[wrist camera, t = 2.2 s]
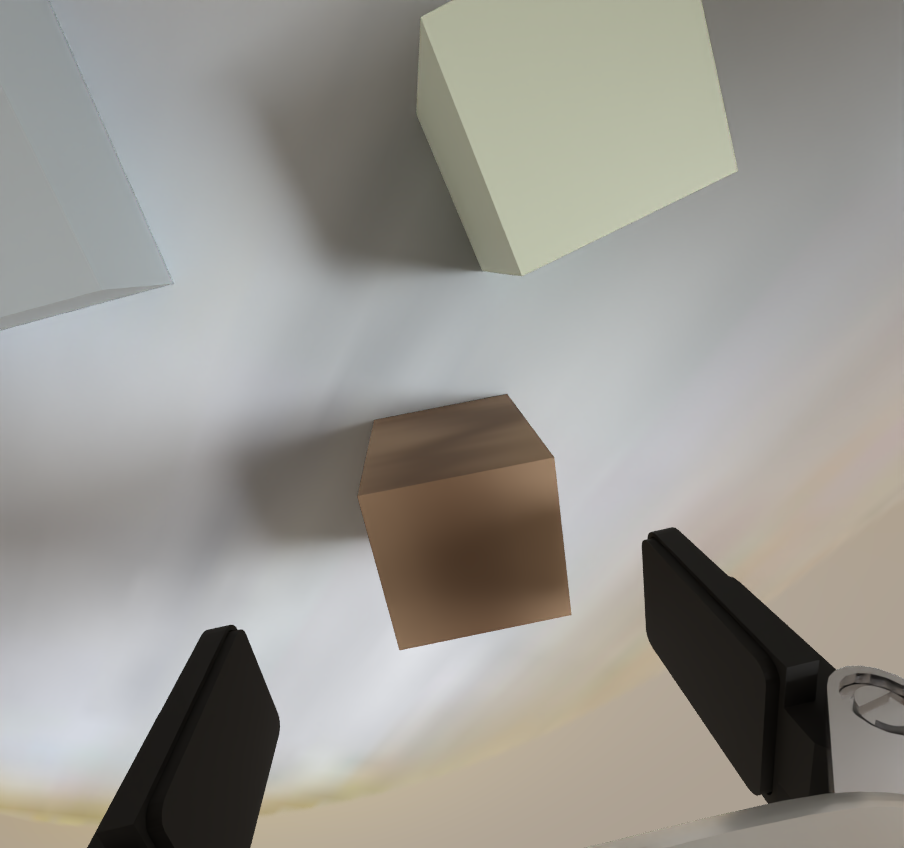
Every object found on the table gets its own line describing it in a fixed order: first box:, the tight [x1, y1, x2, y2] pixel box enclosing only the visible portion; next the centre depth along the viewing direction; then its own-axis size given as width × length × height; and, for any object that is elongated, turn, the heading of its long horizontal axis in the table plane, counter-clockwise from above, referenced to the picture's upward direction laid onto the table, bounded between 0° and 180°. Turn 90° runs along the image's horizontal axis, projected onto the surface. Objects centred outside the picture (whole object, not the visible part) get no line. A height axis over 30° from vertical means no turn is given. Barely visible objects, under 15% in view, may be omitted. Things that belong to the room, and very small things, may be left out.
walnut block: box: [357, 394, 571, 650], centre depth 15 cm, size 5×5×6 cm
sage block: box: [416, 0, 738, 276], centre depth 12 cm, size 5×5×6 cm
